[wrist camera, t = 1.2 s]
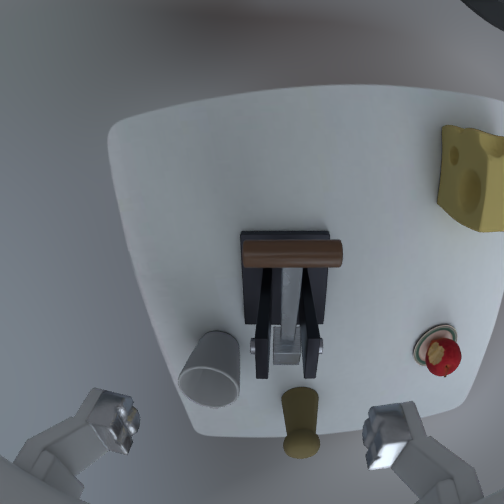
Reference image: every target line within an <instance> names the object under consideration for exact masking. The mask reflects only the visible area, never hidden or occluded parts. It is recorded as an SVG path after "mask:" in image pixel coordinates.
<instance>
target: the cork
mask: <svg viewBox="0 0 504 504" xmlns="http://www.w3.org/2000/svg"><path fill="white" fill-rule="evenodd" d="M318 399H319V397H318V394H317V392H316V391H315V390H313V389H311V388H307V387H297V388H293V389H290V390H288V391H287V392H285V393H284V394H283V396H282V400H281V401H282V407H283V413H284V419H285V425H286V432H287V436H286V437H285V440H284V443H283V447H284V451H285V453H286V454H287V455H288V456H290V457H292V458H297V459H303V458H308V457H311V456H313V455H315V454H316V453H317V451H318V450H319V447H320V440H319V437H318V435H317V434H316V424H317V412H318Z"/></svg>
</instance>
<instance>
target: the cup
mask: <svg viewBox="0 0 504 504" xmlns="http://www.w3.org/2000/svg"><path fill="white" fill-rule="evenodd" d="M178 385H179V388H180V390H181V392H182V393H183V394H184V395H185V396H186V397H187V398H188V399H189V400H191V401H193V402H194V403H196V404H199V405H202V406H205V407H210V408H213V409H217V408H220V407H225V406H228V405H230V404H232V403H233V402H235V401H236V399H237V398H238V396H239V392H240V352H239V344H238V343H237V341H236V340H235V339H234V338H233V337H232V336H230V335H229V334H227V333H224V332H219V331H214V332H209V333H207V334H205V335H204V336H203V337H202V338H201V340H200V341H199V343H198V344H197V346H196V347H195V349H194V351H193V352H192V354H191V355H190V357H189V359H188V361H187V362H186V364H185V366H184V368H183V370H182V371H181V373H180V375H179V378H178Z"/></svg>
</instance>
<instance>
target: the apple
mask: <svg viewBox="0 0 504 504" xmlns="http://www.w3.org/2000/svg"><path fill="white" fill-rule="evenodd" d="M456 342H457V332H456V330H455V329H454V328H453V327H452V326H449V325H441V326H437V327H435V328H433V329H431V330H429V331H428V332H427V333H426V334H424V335H423V336H422V337H421V339H420V340H419V341H418V343H417V344H416V346H415V349H414V359H415V361H416V363H417V364H419V365H422V366H427V368H428V369H429V371H430V372H431V373H433V374H434V375H437V376H444V377H446V375H448V374H450V373H452V372H453V371H455V369H456V368H457V367H458V365H459V364H460V361H461V351H460V348H459V346H458V344H457V343H456Z"/></svg>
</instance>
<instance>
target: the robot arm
mask: <svg viewBox="0 0 504 504" xmlns="http://www.w3.org/2000/svg"><path fill="white" fill-rule="evenodd" d="M133 403H134V401H133V399H132V397H131V396H127V395H123V394H118V393H114V392H110V391H107V390H102V389H98V388H93V389H92V390H91V391H90V392H89V394H88V395H87V397H86V399H85V400H84V402H83V403H82V405H81V407H80V408H79V410H78V412H77V413H76V415H75V416H74V417H69V418H68V419H66V420H64V421H62V422H60V423H59V424H56V425H55V426H53V427H51V428H49V429H47V430H45V431H43V432H42V433H39V434H38V435H36V436H34V437H32V438H30V439H28V440H27V441H26V442H25V444H24V446H23V447H22V449H21V450H20V452H19V454H18V456H17V457H16V459H15V461H14V462H13V463H11V462H10V461H8V460H7V459H5V458H4V457H2V456H1V455H0V504H89V503H87V502H85V501H82V500H80V496H81V494H82V492H83V489H84V485H83V484H82V483H81V482H80V481H79V480H78V479H77V478H76V477H75V476H76V475H78V474H79V473H80V472H82V471H83V470H84V469H86V468H87V467H88V466H90V465H91V464H92V463H94V462H95V461H96V460H97V459H99V458H100V457H101V456H103V455H104V454H105V453H106V452H108V450H109V451H113V452H116V453H120V454H124V455H128V453H129V451H130V448H131V446H132V443H133V440H132V437H131V436H133V435H134V434H136V433H137V432H138V429H139V426H140V415H139V412H138V410H137V409H136V408H135V407H133ZM368 415H369V418H368V419H367V420H365V422H364V425H363V432H362V436H363V444H364V446H366V447H367V448H368V451H367V453H366V461H367V467H368V470H374V469H382V468H389V467H391V469H392V470H393V471H394V472H395V473H396V474H397V475H398V476H399V478H400V479H401V480H402V481H403V482H404V483H405V484H406V485H407V486H408V487H409V488H410V489H411V490H412V491H413V492H414V493H415V494H416V495H417V496H418V497H419V499H420V500H418V501H417V502H416V503H415V504H504V488H503V489H501V490H499V491H497V492H495V493H493V494H491V495H489V496H486V497H484V496H483V492H482V489H481V486H480V483H479V480H478V477H477V475H476V472H475V469H474V468H473V467H472V466H470V465H469V464H468V463H466V462H465V461H464V460H462V459H461V458H459V457H458V456H457V455H455V454H454V453H453V452H451V451H450V450H448V449H447V448H446V447H445V446H443V445H442V444H440V443H439V442H438V441H437V440H435V439H434V438H432V437H431V436H429V437H427V435H426V432H425V430H424V426H423V424H422V421H421V418H420V416H419V413H418V410H417V408H416V405H415V403H414V402H413V401H409V402H403V403H394V404H387V405H380V406H372V407H371V408H370V410H369V412H368Z"/></svg>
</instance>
